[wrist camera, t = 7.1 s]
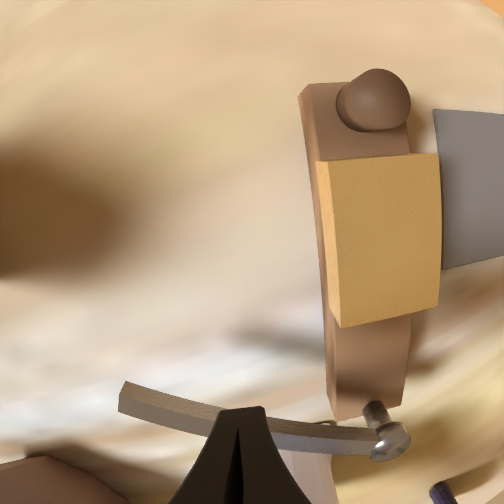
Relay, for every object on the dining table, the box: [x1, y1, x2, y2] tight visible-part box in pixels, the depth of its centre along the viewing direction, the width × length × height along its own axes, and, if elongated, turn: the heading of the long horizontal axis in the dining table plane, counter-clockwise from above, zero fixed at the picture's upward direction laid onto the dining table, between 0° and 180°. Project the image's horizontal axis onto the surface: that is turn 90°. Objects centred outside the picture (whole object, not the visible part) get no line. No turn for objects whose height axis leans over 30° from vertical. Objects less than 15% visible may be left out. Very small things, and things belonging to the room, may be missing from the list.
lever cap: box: [315, 153, 442, 328], centre depth 13 cm, size 7×5×2 cm
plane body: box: [298, 69, 412, 422], centre depth 15 cm, size 19×4×6 cm, turn 9°
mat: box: [433, 109, 504, 270], centre depth 17 cm, size 10×8×1 cm
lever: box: [118, 381, 411, 462], centre depth 15 cm, size 15×2×4 cm, turn 73°
